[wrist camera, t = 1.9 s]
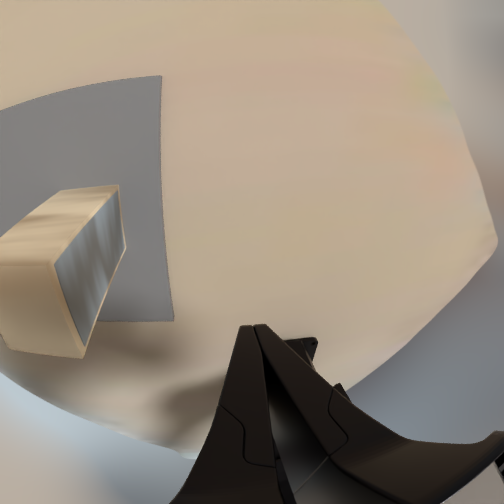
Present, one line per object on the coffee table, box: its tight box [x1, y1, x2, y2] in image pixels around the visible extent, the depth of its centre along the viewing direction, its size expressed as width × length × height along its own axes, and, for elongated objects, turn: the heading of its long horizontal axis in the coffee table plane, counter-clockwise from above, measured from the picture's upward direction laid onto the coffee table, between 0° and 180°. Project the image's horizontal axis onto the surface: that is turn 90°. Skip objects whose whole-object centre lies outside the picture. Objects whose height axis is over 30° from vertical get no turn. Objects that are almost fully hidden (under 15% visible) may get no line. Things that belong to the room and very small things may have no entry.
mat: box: [0, 75, 174, 322], centre depth 16 cm, size 18×20×1 cm
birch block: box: [0, 185, 126, 359], centre depth 12 cm, size 4×5×10 cm
